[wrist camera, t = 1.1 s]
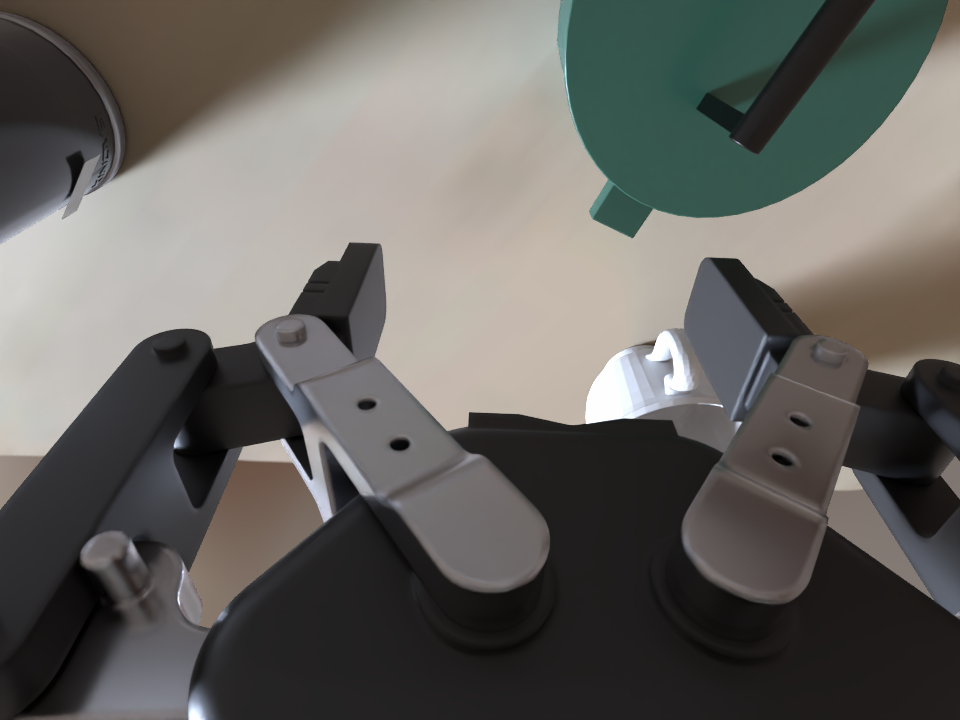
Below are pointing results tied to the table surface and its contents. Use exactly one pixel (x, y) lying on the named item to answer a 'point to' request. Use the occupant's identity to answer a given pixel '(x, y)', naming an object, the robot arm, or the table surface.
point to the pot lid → (736, 92)
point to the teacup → (662, 391)
